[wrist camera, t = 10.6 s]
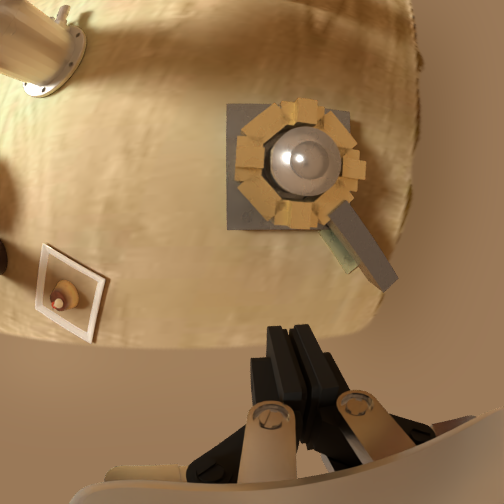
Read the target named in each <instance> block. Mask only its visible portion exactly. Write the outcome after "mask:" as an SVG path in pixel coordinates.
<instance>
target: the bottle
mask: <svg viewBox="0 0 504 504" xmlns="http://www.w3.org/2000/svg"><path fill="white" fill-rule="evenodd" d="M6 267H7V255H6V250H5V247H4V245H3V243H2V242H1V240H0V275H1V274H3V273H4V271H5V270H6Z"/></svg>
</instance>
